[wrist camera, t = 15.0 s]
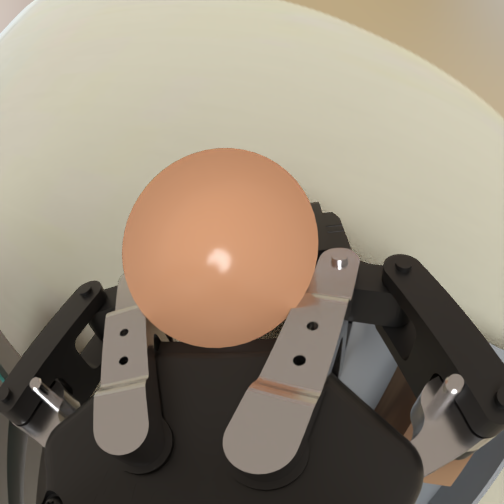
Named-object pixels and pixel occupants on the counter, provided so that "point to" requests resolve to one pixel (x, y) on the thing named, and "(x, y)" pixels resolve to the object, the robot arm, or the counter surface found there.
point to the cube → (398, 415)
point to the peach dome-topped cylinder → (220, 247)
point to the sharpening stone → (18, 449)
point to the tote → (373, 387)
